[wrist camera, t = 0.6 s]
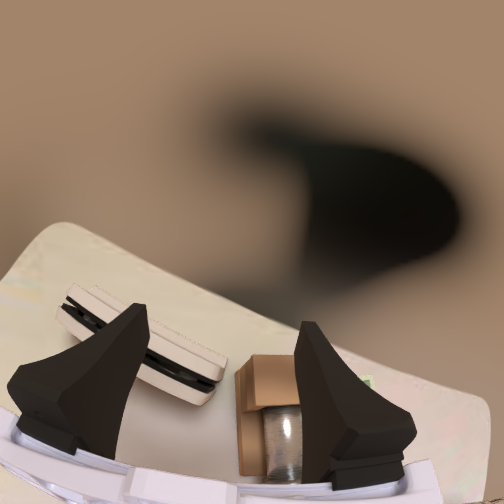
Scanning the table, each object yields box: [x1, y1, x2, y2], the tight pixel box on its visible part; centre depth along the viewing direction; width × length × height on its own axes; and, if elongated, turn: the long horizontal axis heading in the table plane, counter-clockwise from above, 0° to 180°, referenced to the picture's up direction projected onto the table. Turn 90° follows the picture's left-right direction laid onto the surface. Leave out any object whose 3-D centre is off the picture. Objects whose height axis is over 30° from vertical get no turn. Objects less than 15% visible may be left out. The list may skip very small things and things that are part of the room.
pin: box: [262, 404, 302, 485], centre depth 24 cm, size 11×5×5 cm, turn 4°
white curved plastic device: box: [55, 283, 228, 406], centre depth 25 cm, size 17×5×10 cm, turn 70°
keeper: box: [235, 354, 300, 476], centre depth 25 cm, size 11×7×7 cm, turn 4°
